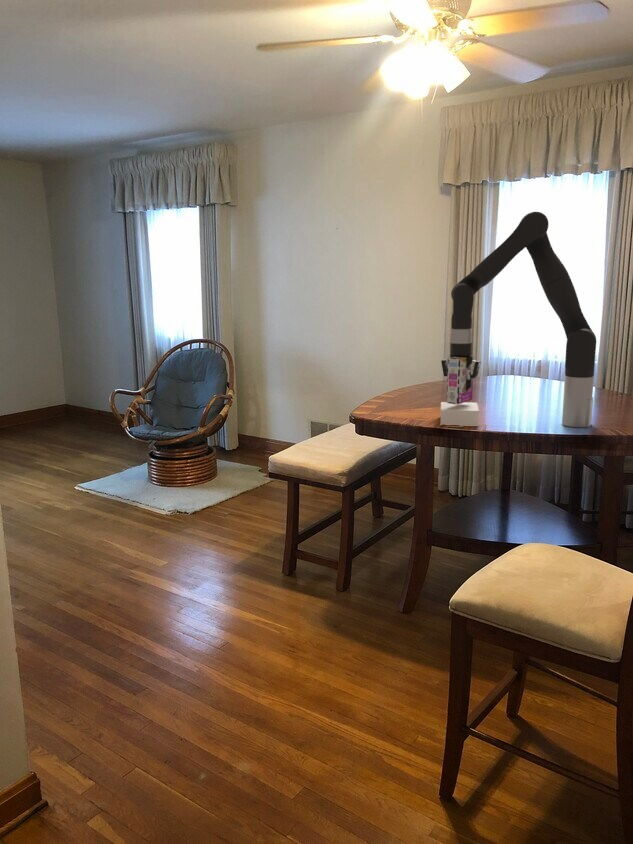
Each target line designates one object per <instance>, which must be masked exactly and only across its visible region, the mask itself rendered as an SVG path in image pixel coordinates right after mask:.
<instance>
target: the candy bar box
mask: <svg viewBox="0 0 633 844" xmlns="http://www.w3.org/2000/svg"><path fill="white" fill-rule="evenodd" d="M447 359H448V374H447V377H446V378H447V381H446V401H445V402H446V403H450V404H461V403H464V402H469V401H471V400H473V385H474V378H472V387H471V388H470V389H469V390H466V382H467V377H466V373H465V366H466V357H455V356H454V357H450V356H449V357H448V358H447ZM472 359H473V360H475V356H474V355H473V354H472ZM469 368H470V370H471V374H473V370H474V366H473V363H472V364H471V365H470V366H469V367H468V368H467V370H469Z"/></svg>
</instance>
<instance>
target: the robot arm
mask: <svg viewBox="0 0 633 844" xmlns="http://www.w3.org/2000/svg"><path fill="white" fill-rule="evenodd" d="M548 229H549V220H548V217H547V216H546V215H545V213H542V212H541V211H531V212H529V213H527V214H525V215H523V217H522V218H521V220H520V222H519V223H518V225H517V226H516V227H515V229H514V230H513V232H512V233H511V234H510V235H509V236H508V237H507V238H506V239H505V240H504V241H503V242H502V243H501V244H500V245H499V246H498V247H496V249H494V250H493V251H492V252H490V254H488V255H487V256H486V257H485V258H483V260H482V261H481V262H479V264H478V265H477V266H475V267H474V269H473V270H472V271H471V272H469V274H468V275H467V274H466V276H464V278H462V279H461V280H460V281H458V283H457V284H455V285H454V287H453V288H452V289H451V293H450V296H451V300H452V303H453V304H452V305H453V306H452V314H451V323H450V326H451V327H450V328H451V330H450V337H449V341H450V343H449V344H450V345H449V357H454V356H455V357H466V366H465V373H466V377H467V382H466V390H469V389H470V388H471V387H472V378H473V379H475V378H477V377H478V375H479V371H480V367H481V363H482V362H481V360H475V359H474V360H473V359H472V355H473V330H472V327H473V317H472V316H473V315H472V314H473V313H472V312H473V309H474V301H475V297H474V296H475V295H476V293H477V292H478V291H480V290H481V289H482V288H484V287H486V285H488V284H490V283H491V281H493V280H494V279H495V278H496V277H497V276H498V275H499V274H500V273H501V272H502V271H503V270H504V269H505V268H506V267H507V266H508V264H509V263H511V261H512V260H513V259H514V258H516V256H517V255H518V254H519V253H520V252H522V251H523V250H524V249H525V248H526V250H527V252H528V254H529V256H530V258H531V259H532V260H531V261H532V262H533V265H534V268H535V272H536V274H537V277H538V279H539V282H540V285H541V287H542V290H543V293H544V294H545V298H546V299H547V301H548V303H549V304H550V306H551V308H552V309H553V311H554V312H555V313H556V315H557V316H558V318H559V319H560V323H561V325H562V327H563V330H564V334H565V337H566V343H565V344H566V345H565V360H564V361H565V363H564V383H563V384H564V386H563V400H562V402H563V403H562V415H561V416H562V417H561V425H563V426H565V427H570V428H571V427H572V428H590V427H591V425H592V423H593V422H592V420H593V407H594V396H593V394H594V391H593V390H594V379H595V378H594V377H595V366H596V354H597V352H596V350H597V336H596V334H595V333H594V331H593V330H592V328H591V326H590V324H589V322H588V321H587V319H586V317H585V315H584V313H583V312H582V309H581V305H580V301H579V298H578V295H577V291H576V290H575V286H574V283H573V281H572V279H571V276H570V274H569V272H568V270H567V269H566V267H565V265H564V263H563V262H562V261H561V260H560V258H559V257H558V256H557V254H556V253H555V251H554V249H553V246H552V245H551V242H550V239H549V235H548V232H547V231H548ZM472 363H473V366H474V368H473V374H471V370H470V368H469V370H467V368H468V367H469V366H470V365H471V364H472ZM440 364H441V367H442V371H443V372H442V373H443V377H446V378H447V374H448V358H445V359H442V360H441V363H440Z"/></svg>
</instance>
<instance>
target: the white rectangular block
mask: <svg viewBox="0 0 633 844" xmlns="http://www.w3.org/2000/svg"><path fill="white" fill-rule="evenodd" d="M446 402H447V401H441V402H440V425H441V424H445V425H460V426H459V427H463V426H478V427H479V423H480V422H479V421H480V419H479V418H480V417H479V416H480V410H479V409H480V408H479V405H478V402H469V401H466V402H464V403H461V404H450V403H446Z"/></svg>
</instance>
